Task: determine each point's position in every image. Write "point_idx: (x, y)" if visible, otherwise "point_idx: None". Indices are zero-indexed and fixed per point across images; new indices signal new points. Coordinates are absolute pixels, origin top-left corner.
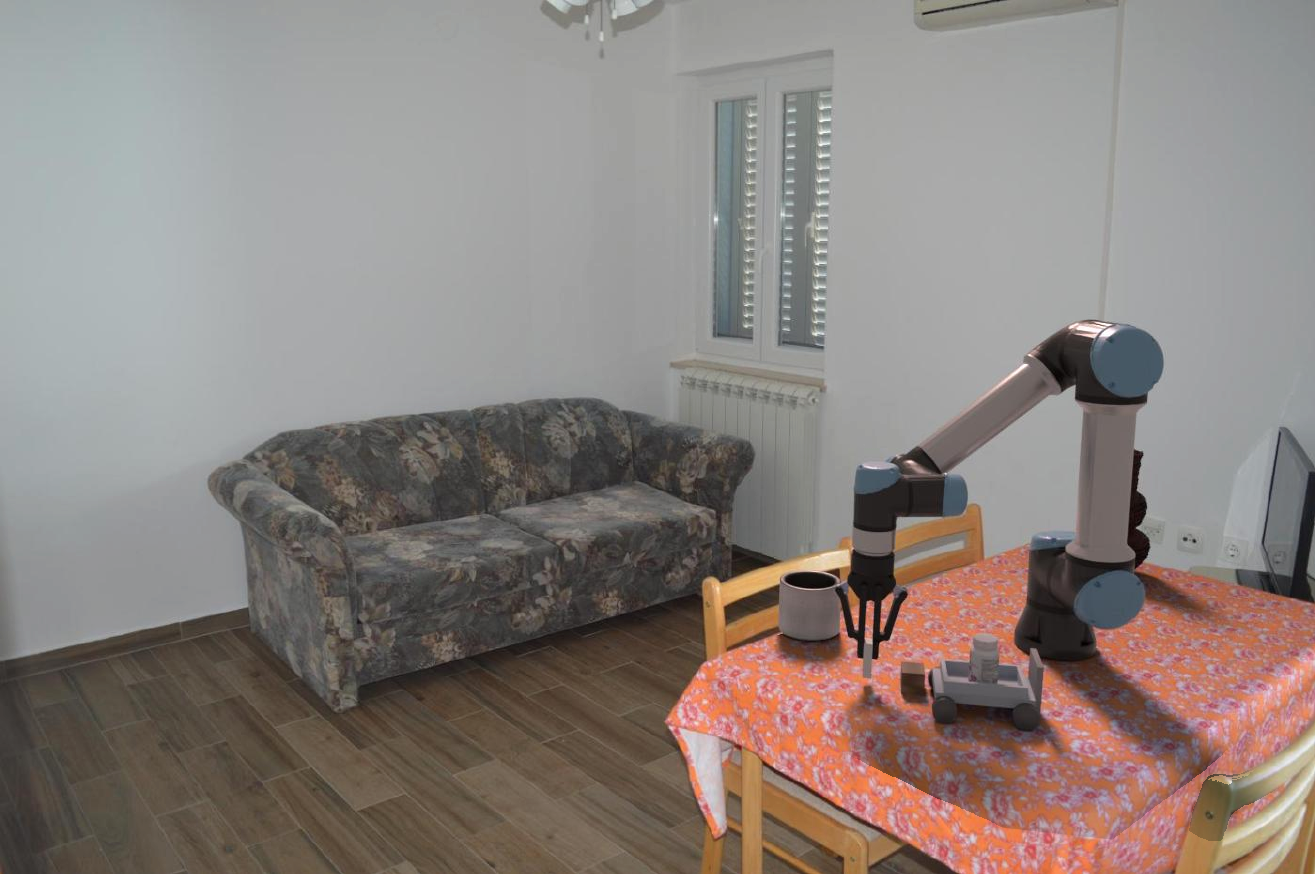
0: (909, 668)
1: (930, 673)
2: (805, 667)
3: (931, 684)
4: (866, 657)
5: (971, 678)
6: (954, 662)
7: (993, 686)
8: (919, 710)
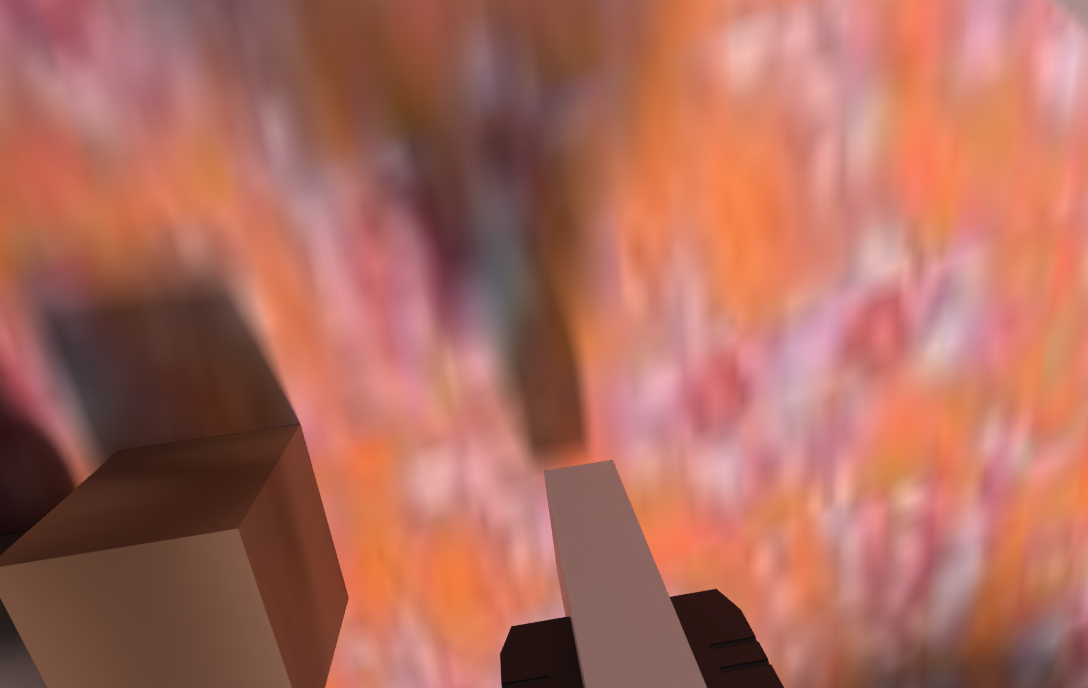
0: (191, 639)
1: (11, 654)
2: (970, 564)
3: None
4: (632, 596)
5: None
6: None
7: None
8: (59, 151)
